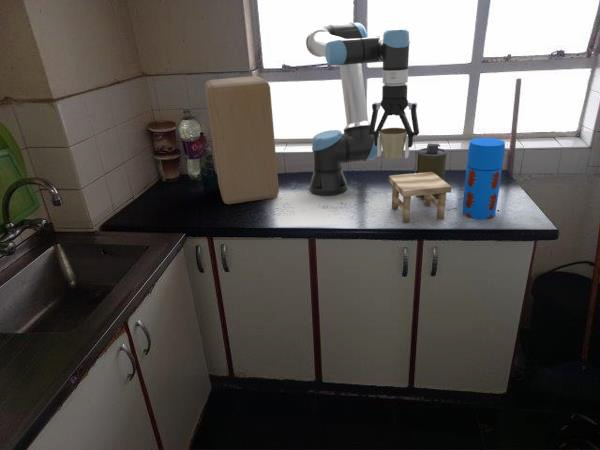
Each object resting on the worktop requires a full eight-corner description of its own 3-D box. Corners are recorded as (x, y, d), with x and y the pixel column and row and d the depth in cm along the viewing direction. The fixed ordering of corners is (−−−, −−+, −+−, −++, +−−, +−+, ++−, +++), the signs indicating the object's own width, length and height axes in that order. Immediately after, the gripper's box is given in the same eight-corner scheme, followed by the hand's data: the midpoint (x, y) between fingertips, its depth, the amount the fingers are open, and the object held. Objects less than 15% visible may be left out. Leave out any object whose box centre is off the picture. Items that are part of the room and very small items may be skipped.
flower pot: (394, 162, 138) (395, 135, 134) (372, 157, 145) (372, 131, 141) (413, 156, 143) (414, 130, 139) (391, 151, 150) (391, 126, 146)
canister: (440, 190, 172) (444, 140, 164) (445, 200, 163) (450, 147, 155) (412, 191, 174) (414, 141, 165) (415, 200, 164) (418, 148, 156)
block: (280, 198, 174) (270, 80, 155) (223, 207, 170) (206, 86, 151) (270, 181, 194) (260, 74, 175) (219, 188, 190) (203, 79, 171)
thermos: (479, 222, 144) (488, 148, 134) (455, 211, 153) (461, 141, 143) (502, 214, 149) (513, 142, 138) (477, 205, 157) (485, 136, 147)
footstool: (388, 206, 161) (388, 175, 155) (430, 202, 162) (432, 171, 157) (401, 224, 146) (403, 191, 141) (448, 220, 147) (451, 186, 142)
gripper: (358, 86, 135) (358, 157, 145) (428, 85, 127) (424, 161, 137) (364, 83, 141) (364, 151, 151) (432, 82, 134) (427, 154, 143)
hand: (392, 156), depth 144 cm, fingers closed on flower pot, 8 cm apart
